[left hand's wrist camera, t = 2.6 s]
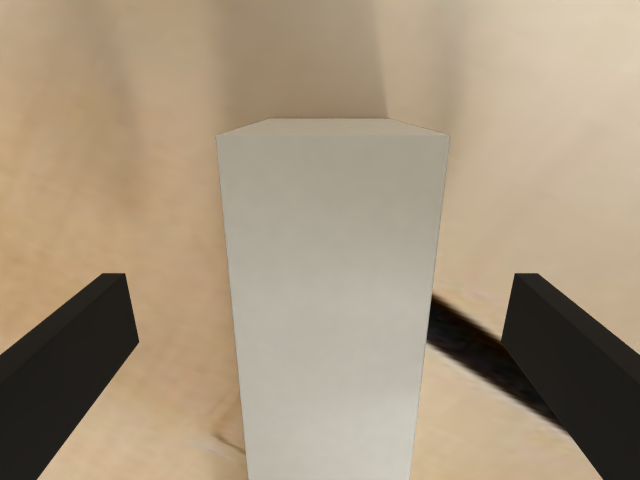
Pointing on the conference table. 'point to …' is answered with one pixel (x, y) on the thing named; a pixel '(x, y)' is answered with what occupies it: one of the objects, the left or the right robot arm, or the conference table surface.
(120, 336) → the left robot arm
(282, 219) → the post
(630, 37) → the conference table surface
